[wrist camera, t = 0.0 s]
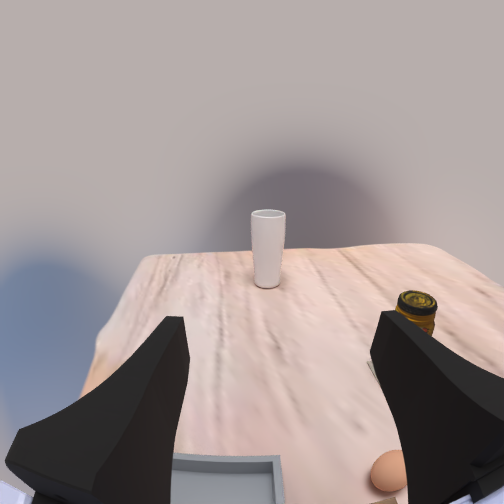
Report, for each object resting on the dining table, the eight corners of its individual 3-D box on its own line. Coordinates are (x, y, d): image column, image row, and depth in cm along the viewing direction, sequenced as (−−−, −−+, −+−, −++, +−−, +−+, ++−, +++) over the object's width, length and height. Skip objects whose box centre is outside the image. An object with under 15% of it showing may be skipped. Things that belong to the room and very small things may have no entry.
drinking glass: (264, 294, 60) (265, 219, 54) (244, 282, 65) (243, 212, 60) (289, 285, 63) (293, 214, 58) (269, 274, 68) (271, 208, 63)
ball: (411, 491, 19) (429, 470, 18) (370, 502, 19) (385, 484, 17) (399, 460, 23) (413, 437, 22) (361, 468, 23) (373, 446, 22)
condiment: (366, 362, 39) (383, 288, 35) (414, 353, 40) (434, 283, 36) (385, 397, 33) (412, 318, 28) (436, 383, 33) (465, 309, 29)
